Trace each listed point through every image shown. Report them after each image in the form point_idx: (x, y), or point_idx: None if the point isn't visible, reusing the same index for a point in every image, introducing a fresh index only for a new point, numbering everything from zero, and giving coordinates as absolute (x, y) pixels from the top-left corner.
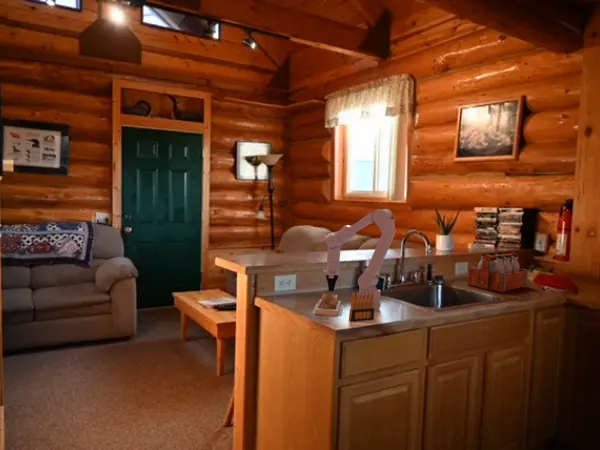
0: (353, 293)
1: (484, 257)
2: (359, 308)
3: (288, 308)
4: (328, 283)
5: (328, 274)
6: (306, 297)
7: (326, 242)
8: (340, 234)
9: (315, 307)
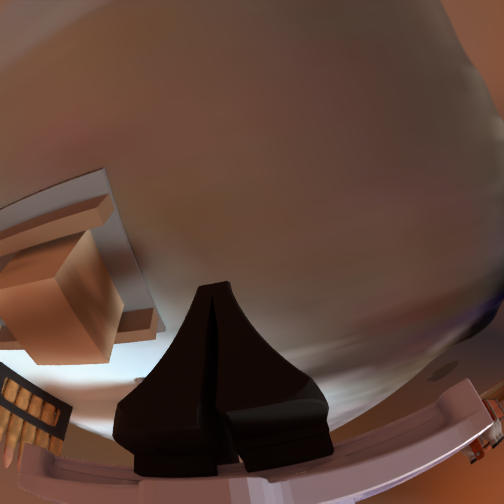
0: None
1: (481, 454)
2: (11, 417)
3: None
4: (170, 353)
5: (55, 479)
6: (296, 24)
7: None
8: None
9: (9, 211)
